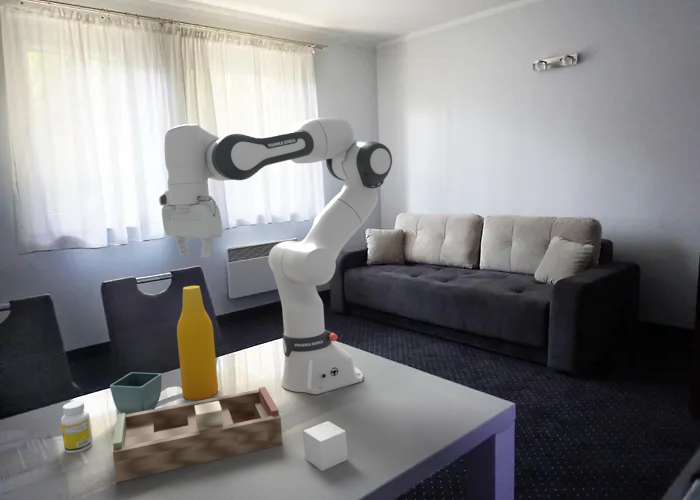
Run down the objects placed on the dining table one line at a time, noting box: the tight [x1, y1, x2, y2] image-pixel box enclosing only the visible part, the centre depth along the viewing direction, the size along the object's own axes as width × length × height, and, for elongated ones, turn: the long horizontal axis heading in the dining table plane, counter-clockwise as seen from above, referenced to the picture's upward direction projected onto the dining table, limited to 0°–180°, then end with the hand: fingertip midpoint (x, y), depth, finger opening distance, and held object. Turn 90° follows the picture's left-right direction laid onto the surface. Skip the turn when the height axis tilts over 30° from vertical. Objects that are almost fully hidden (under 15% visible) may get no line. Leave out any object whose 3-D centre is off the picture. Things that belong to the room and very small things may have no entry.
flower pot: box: [109, 371, 163, 414], centre depth 125 cm, size 9×9×9 cm
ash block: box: [195, 401, 223, 431], centre depth 106 cm, size 5×5×5 cm
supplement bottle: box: [60, 400, 93, 454], centre depth 109 cm, size 5×5×10 cm
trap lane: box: [112, 386, 283, 483], centre depth 109 cm, size 32×17×7 cm, turn 111°
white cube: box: [303, 420, 348, 472], centre depth 100 cm, size 6×6×6 cm
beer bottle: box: [176, 285, 219, 401], centre depth 134 cm, size 9×9×29 cm
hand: (194, 256), depth 119 cm, fingers open, 8 cm apart
